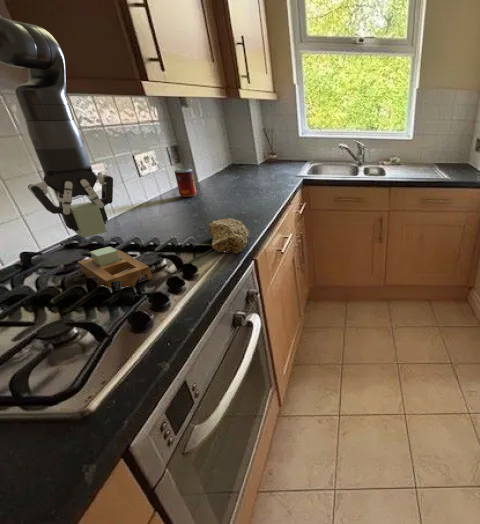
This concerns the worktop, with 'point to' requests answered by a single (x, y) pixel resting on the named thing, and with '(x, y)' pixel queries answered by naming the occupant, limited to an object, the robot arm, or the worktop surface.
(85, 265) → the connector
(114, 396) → the worktop surface
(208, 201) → the worktop surface
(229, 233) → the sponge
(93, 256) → the pad
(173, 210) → the worktop surface
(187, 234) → the worktop surface
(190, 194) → the soda can
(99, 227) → the pale green block
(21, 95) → the robot arm
